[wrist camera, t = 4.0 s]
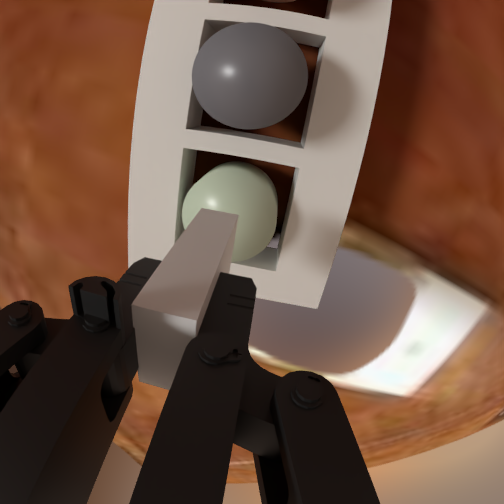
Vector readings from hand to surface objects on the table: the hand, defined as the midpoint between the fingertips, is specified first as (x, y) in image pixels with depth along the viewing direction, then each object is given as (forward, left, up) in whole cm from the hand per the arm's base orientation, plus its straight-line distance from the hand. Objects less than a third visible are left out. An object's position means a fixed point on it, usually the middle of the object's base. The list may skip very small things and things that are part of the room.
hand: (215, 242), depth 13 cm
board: (-7, 0, -7) cm, 10 cm away
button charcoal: (-7, 0, -5) cm, 8 cm away
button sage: (0, 0, -6) cm, 6 cm away
